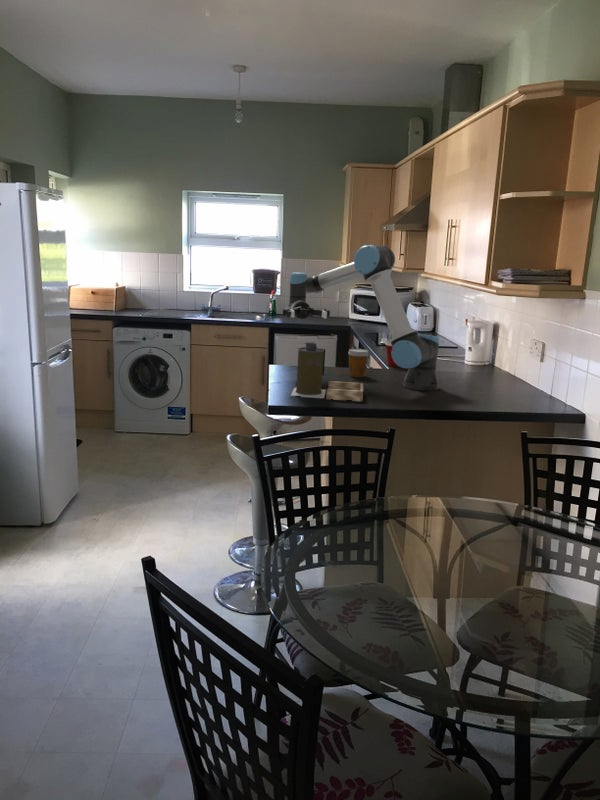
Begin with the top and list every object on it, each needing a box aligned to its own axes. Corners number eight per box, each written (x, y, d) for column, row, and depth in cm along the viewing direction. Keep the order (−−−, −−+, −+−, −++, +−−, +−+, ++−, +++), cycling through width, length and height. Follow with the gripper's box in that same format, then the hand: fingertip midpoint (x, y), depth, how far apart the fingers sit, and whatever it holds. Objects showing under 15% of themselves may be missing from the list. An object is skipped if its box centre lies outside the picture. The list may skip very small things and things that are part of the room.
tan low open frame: (362, 392, 268) (363, 383, 267) (362, 401, 253) (363, 391, 252) (328, 390, 269) (328, 381, 268) (326, 399, 254) (326, 389, 253)
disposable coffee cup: (366, 378, 298) (368, 352, 295) (345, 376, 299) (347, 351, 297) (367, 374, 307) (369, 349, 304) (347, 373, 308) (349, 348, 306)
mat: (325, 390, 268) (325, 389, 268) (323, 398, 255) (323, 397, 255) (294, 388, 269) (294, 387, 269) (290, 396, 256) (290, 394, 256)
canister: (300, 395, 255) (302, 344, 251) (292, 389, 265) (295, 340, 260) (326, 394, 259) (329, 344, 254) (317, 389, 268) (320, 340, 264)
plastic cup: (378, 365, 334) (380, 341, 331) (390, 363, 342) (392, 340, 339) (397, 368, 327) (399, 344, 324) (408, 366, 335) (410, 343, 332)
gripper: (327, 318, 292) (338, 324, 272) (272, 317, 288) (279, 323, 267) (328, 302, 290) (339, 306, 270) (273, 300, 286) (280, 304, 266)
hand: (309, 314), depth 269 cm, fingers open, 13 cm apart
